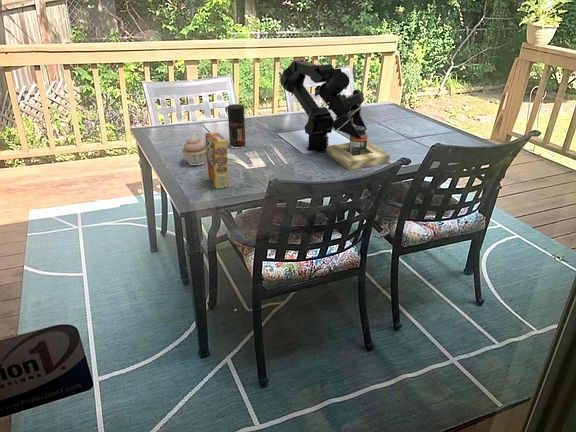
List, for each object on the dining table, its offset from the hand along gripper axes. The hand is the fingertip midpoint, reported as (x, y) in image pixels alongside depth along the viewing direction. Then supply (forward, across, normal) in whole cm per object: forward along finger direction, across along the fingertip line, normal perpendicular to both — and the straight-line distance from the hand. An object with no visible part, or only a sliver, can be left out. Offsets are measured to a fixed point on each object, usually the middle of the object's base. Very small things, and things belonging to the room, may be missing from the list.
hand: (362, 133), depth 160 cm
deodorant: (-26, -4, +39) cm, 47 cm away
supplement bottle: (+6, 0, +8) cm, 10 cm away
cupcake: (-30, -24, +44) cm, 58 cm away
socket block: (+6, 0, +7) cm, 9 cm away
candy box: (-20, -36, +33) cm, 53 cm away
